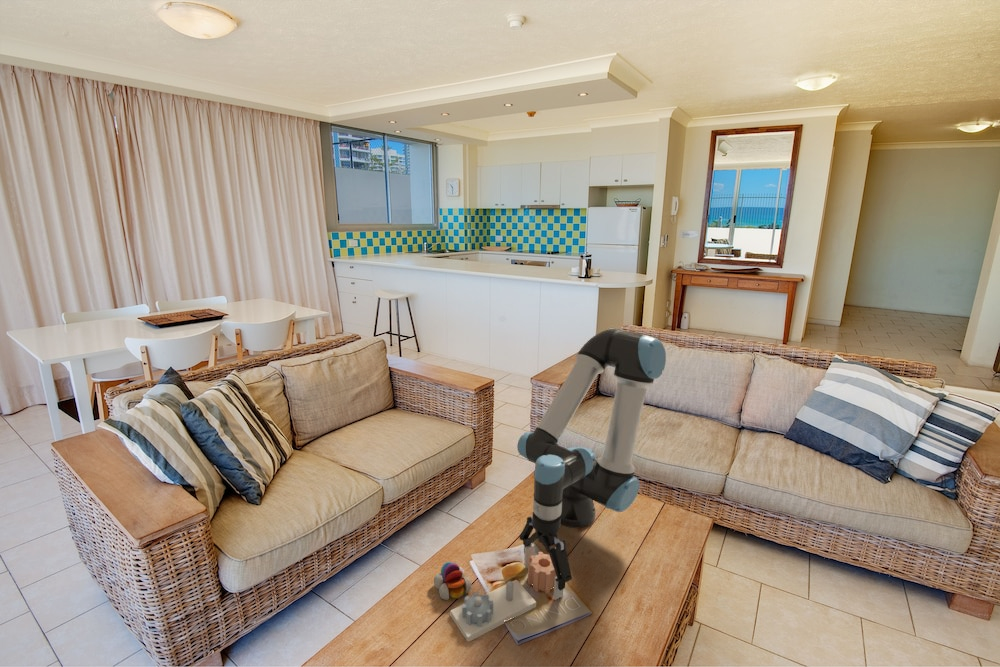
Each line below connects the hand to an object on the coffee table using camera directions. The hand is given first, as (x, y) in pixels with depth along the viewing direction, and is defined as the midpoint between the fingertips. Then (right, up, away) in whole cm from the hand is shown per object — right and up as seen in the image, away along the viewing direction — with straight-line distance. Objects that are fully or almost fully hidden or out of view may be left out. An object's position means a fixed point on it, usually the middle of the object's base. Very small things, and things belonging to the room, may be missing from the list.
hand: (542, 580), depth 131 cm
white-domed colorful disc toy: (-25, -1, -3) cm, 25 cm away
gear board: (-13, -2, -10) cm, 17 cm away
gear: (0, 0, 0) cm, 0 cm away
